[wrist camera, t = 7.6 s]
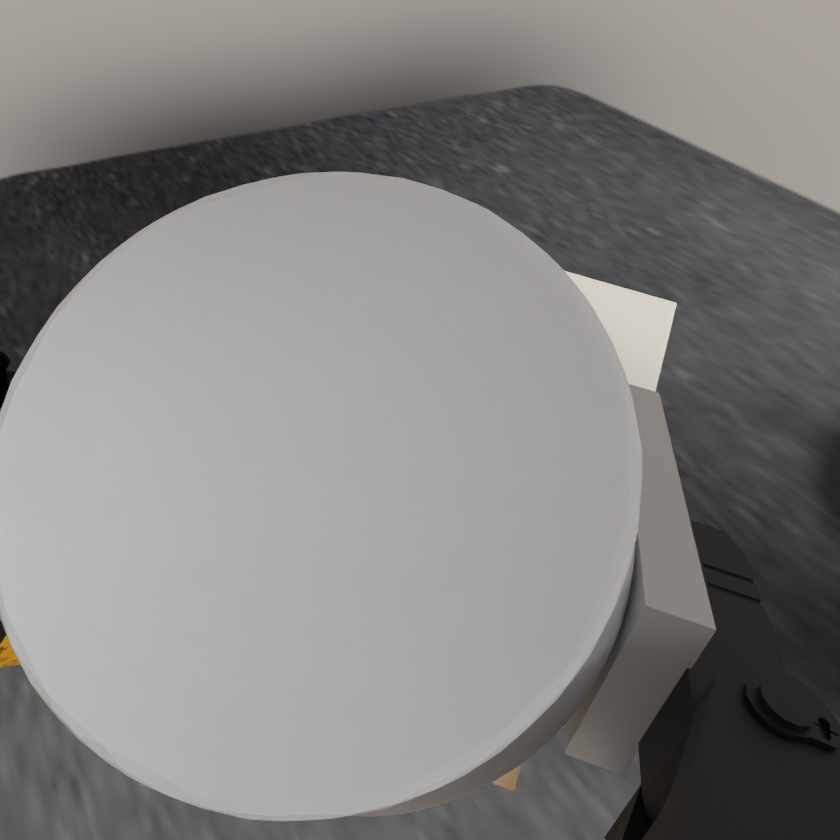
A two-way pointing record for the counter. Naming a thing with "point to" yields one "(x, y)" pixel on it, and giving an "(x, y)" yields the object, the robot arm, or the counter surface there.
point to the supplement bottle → (319, 500)
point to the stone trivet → (632, 327)
